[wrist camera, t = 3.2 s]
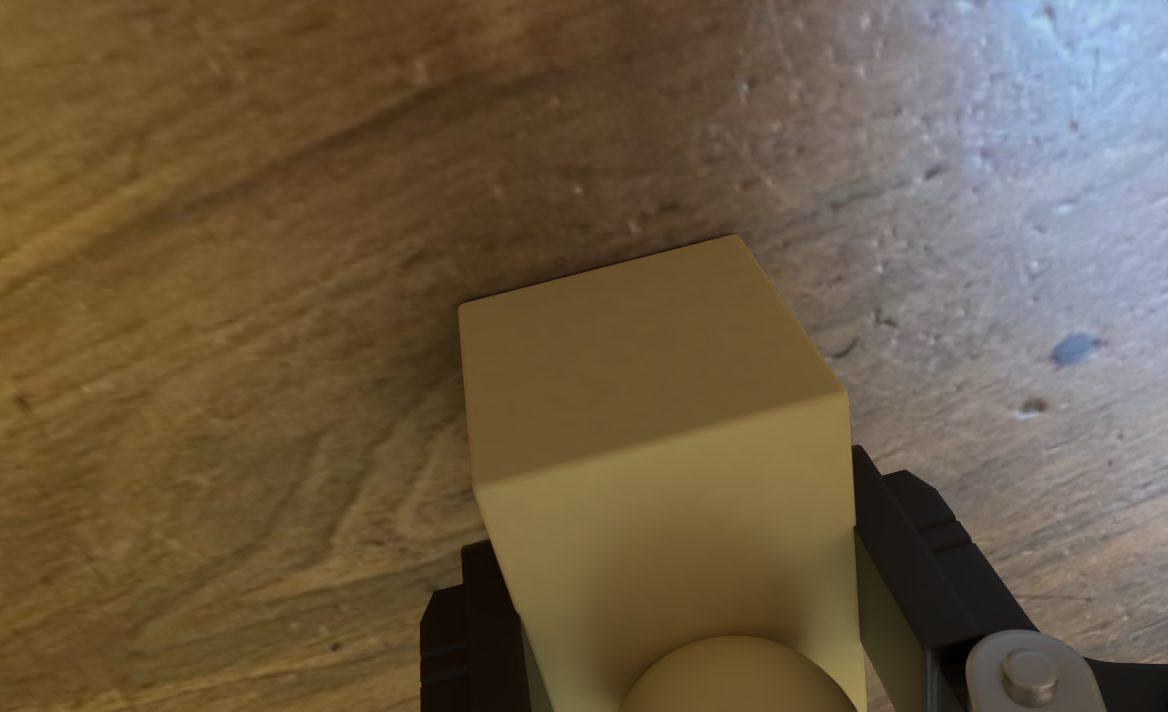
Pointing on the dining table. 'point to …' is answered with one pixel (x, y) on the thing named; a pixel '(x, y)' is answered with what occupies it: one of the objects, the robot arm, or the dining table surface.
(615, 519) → the duck
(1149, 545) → the dining table surface
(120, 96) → the dining table surface
